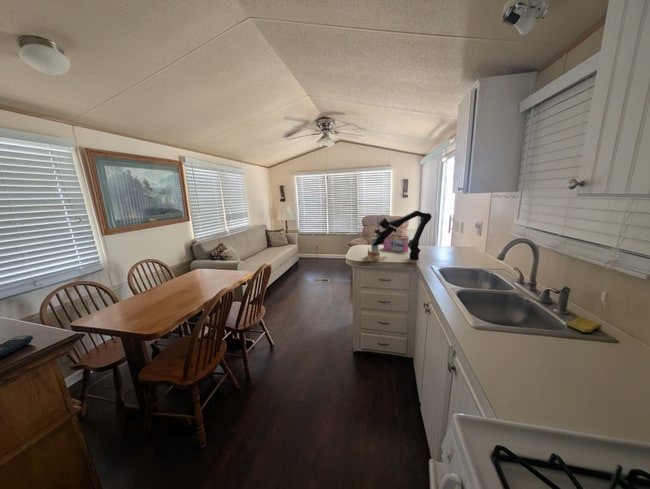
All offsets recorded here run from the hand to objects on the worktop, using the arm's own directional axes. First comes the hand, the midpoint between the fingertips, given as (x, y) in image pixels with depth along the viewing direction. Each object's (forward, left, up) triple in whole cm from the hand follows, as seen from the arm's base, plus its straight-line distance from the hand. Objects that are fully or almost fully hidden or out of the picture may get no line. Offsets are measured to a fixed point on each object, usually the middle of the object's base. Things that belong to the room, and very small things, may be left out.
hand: (373, 245), depth 203 cm
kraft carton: (-4, -1, -12) cm, 12 cm away
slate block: (-1, 0, -6) cm, 6 cm away
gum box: (-10, -41, -12) cm, 44 cm away
